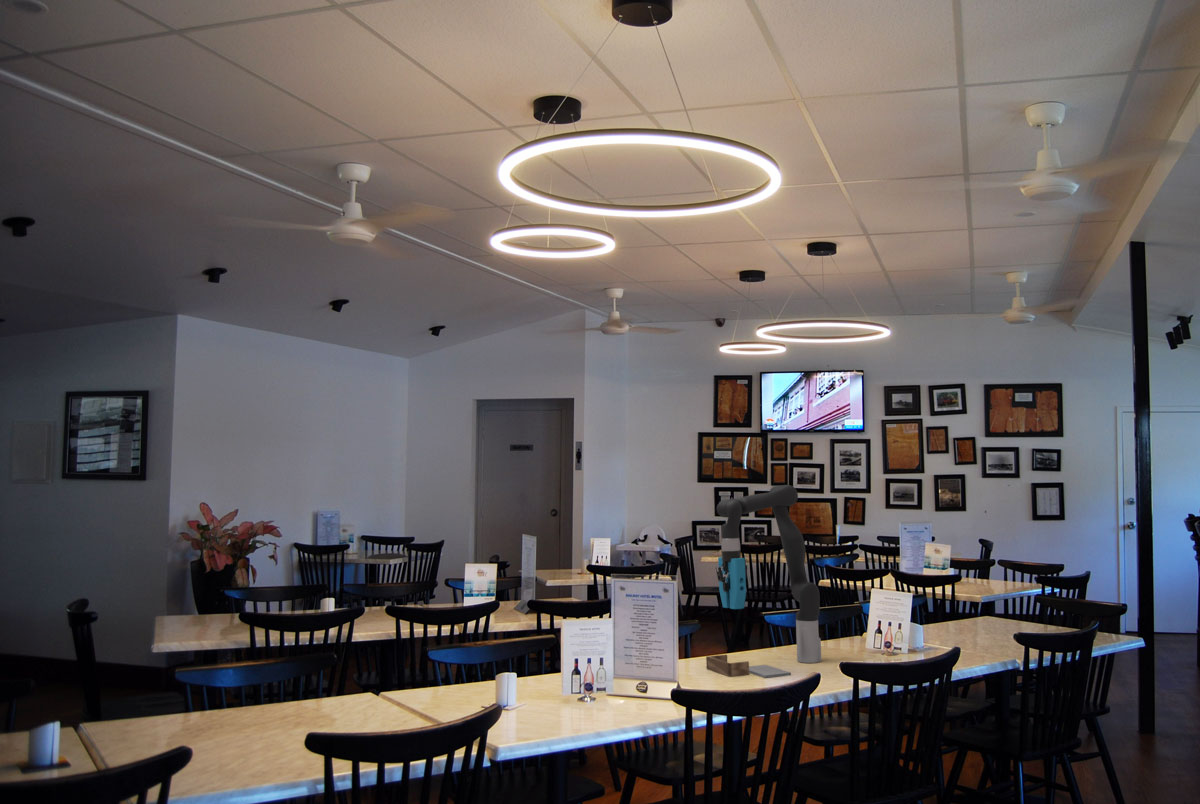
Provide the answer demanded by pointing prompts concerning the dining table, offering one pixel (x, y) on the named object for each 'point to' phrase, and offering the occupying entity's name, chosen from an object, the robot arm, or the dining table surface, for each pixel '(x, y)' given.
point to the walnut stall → (726, 666)
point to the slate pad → (767, 671)
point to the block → (734, 584)
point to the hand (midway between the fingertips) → (732, 591)
